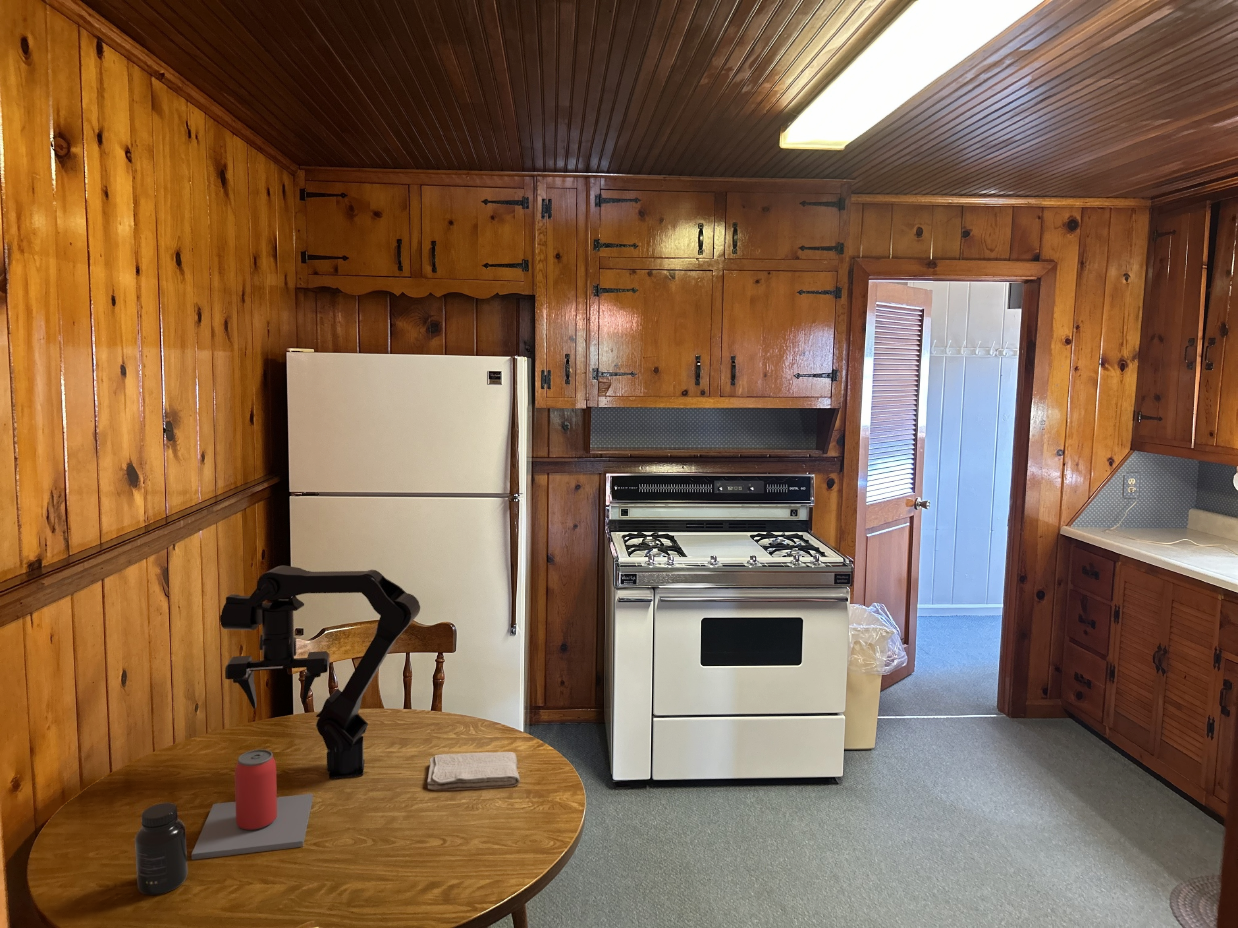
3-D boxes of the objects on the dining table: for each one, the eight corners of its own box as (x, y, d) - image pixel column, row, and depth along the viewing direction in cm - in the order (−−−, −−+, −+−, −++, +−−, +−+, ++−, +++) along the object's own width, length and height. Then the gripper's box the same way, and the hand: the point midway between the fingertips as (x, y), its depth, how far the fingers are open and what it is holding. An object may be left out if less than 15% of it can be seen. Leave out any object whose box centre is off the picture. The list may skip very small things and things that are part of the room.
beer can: (284, 813, 144) (283, 748, 143) (264, 833, 137) (263, 766, 136) (249, 810, 145) (248, 746, 143) (228, 830, 138) (226, 763, 137)
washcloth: (429, 765, 166) (429, 751, 166) (516, 760, 169) (516, 746, 169) (426, 794, 154) (426, 779, 154) (520, 788, 158) (520, 773, 157)
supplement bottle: (150, 869, 128) (147, 798, 127) (195, 868, 129) (192, 797, 127) (128, 897, 121) (125, 822, 120) (175, 896, 122) (172, 821, 121)
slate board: (312, 798, 151) (312, 793, 151) (302, 846, 136) (302, 840, 135) (213, 808, 146) (213, 803, 146) (191, 859, 131) (191, 853, 131)
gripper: (331, 616, 170) (332, 687, 171) (235, 621, 165) (236, 694, 166) (326, 632, 159) (327, 708, 160) (223, 638, 154) (225, 716, 156)
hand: (279, 705), depth 161 cm, fingers open, 9 cm apart
